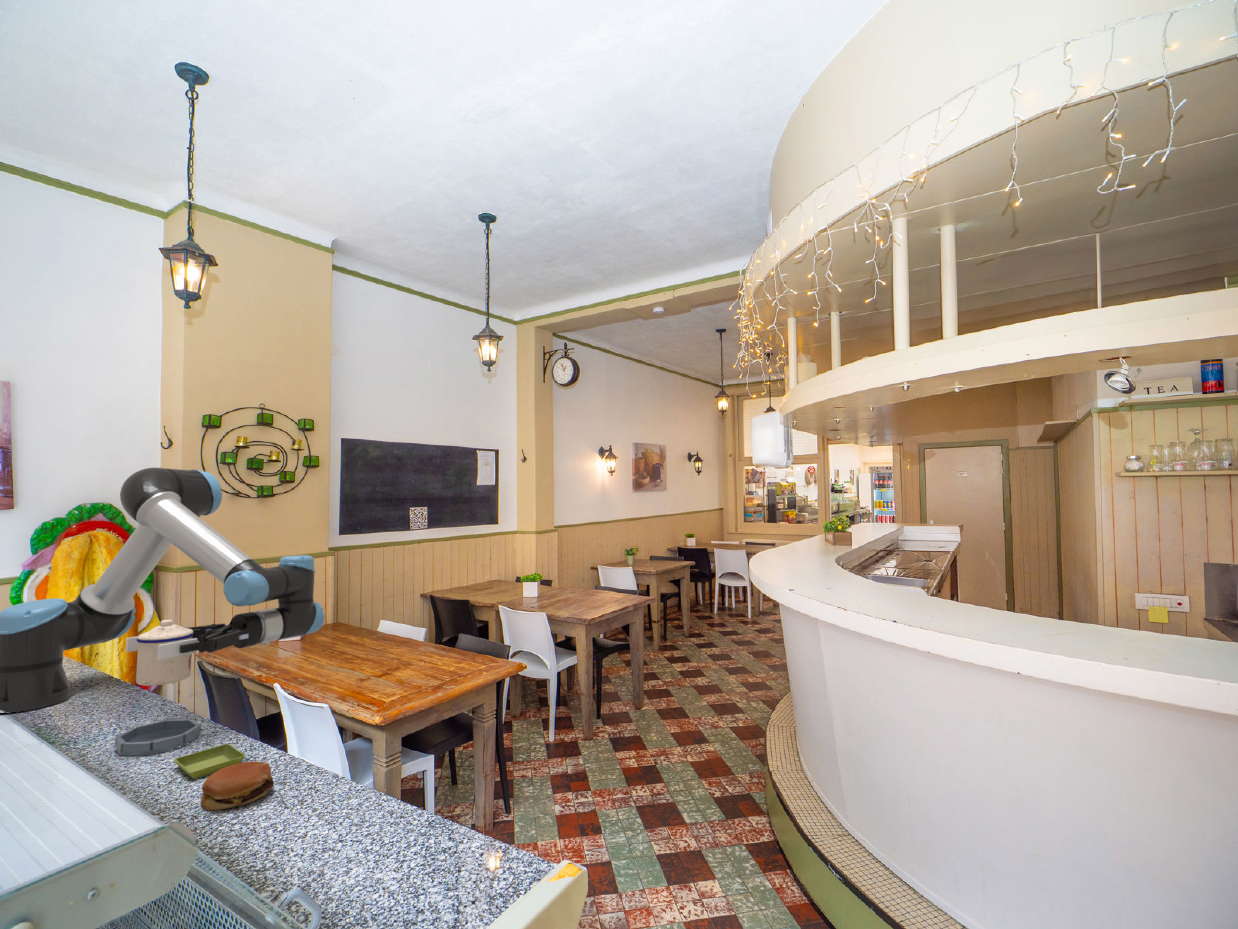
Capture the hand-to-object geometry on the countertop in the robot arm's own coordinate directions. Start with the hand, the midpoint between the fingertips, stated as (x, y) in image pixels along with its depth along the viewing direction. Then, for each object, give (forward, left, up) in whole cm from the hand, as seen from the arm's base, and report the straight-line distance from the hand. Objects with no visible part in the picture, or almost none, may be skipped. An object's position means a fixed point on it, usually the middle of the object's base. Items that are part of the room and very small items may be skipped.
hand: (142, 648), depth 115 cm
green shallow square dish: (+21, +6, -19) cm, 29 cm away
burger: (+38, +5, -19) cm, 42 cm away
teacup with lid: (-1, +3, -7) cm, 8 cm away
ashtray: (+1, +3, -18) cm, 19 cm away
